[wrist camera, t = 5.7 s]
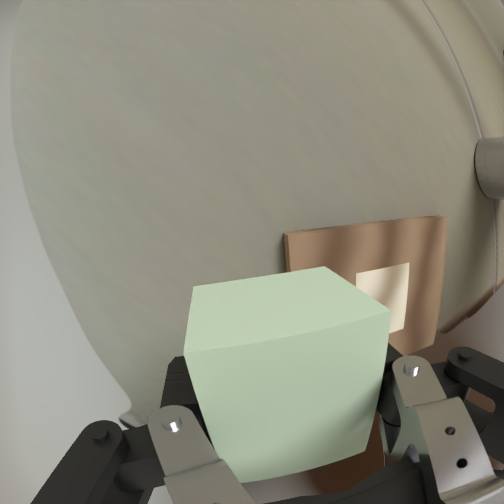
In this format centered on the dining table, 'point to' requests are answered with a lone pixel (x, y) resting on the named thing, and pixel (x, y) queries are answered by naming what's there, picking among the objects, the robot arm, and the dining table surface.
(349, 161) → the dining table surface
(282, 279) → the sage green brick
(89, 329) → the dining table surface
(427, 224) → the base board
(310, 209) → the dining table surface
